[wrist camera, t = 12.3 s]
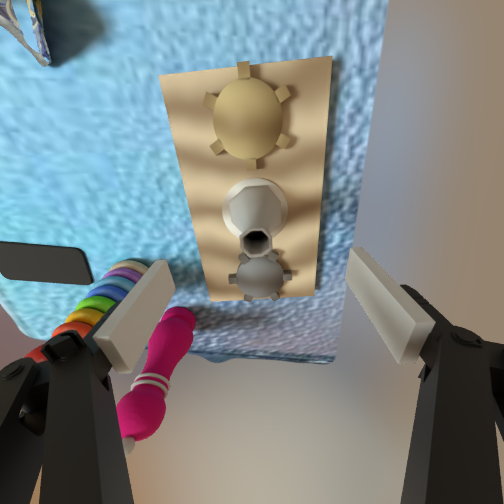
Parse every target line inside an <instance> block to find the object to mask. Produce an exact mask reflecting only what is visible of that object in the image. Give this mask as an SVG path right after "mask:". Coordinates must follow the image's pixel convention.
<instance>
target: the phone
mask: <svg viewBox="0 0 504 504" xmlns="http://www.w3.org/2000/svg"><path fill="white" fill-rule="evenodd" d="M0 272H1V274H2V275H3V276H4V277H5V278H7V279H11V280H22V281H36V282H49V283H63V284H76V285H90V284H91V283H92V282H93V279H92V276H91V273H90V270H89V267H88V264H87V261H86V258H85V255H84V253H83V252H82V251H81V250H80V249H78V248H73V247H62V246H50V245H38V244H27V243H17V242H3V241H0Z"/></svg>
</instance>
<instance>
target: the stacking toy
mask: <svg viewBox="0 0 504 504" xmlns="http://www.w3.org/2000/svg"><path fill="white" fill-rule="evenodd" d="M148 269H149V268H148V267H147V266H145V265H143V264H142V263H139V262H136V261H132V260H125V261H120V262H118V263H116V264H114V265H113V266H112V267H111V268H110V270H109V272H108V273H106V274H105V275H104V277H103V278H102V279H101V280H100V281H99V282H98V283H97V284H96V285H95V287H94V289H93V290H91V291H90V292H89V293H88V295H87V296H86V298H85V299H84V300H82V301H81V302H80V303H79V304H78V305H77V307H76V309H75V311H74V312H72V313H71V314H70V315H69V316H68V317H67V319H66V321H65V323H64V324H62V325H60V326H59V327H57V328H56V329H55V330H54V332H53V334H52V337H54V336H56V335H57V334H59V333H61V332H64V331H67V330H76V331H78V333H79V334H80V336H81V337H82V338H84V337H85V336H86V335H87V333H88V332H89V331H90V330H91V329H92V328H93V327H94V325H95V324H96V323H97V322H98V321H100V318H101V317H102V316H103V315H105V313H106V312H107V310H108V309H109V308H110V307H111V306H112V305H114V304H115V303H116V302H118V301H119V300H123V299H124V298H125V297H126V296H127V295H128V293H129V292H130V291H131V290H132V288H133V287H134V286H135V285H136V284H137V282H138V281H139V280H140V279H141V278H142V276H143V275H144V274H145V273H146V272H147V270H148ZM52 337H51V338H52ZM43 345H44V344H43ZM43 345H41V346H39V347H37V348H35V349H34V350H32V351H31V352H30V353H28V354H27V355H26V356H25V357H31V358H33V359H34V360H35V361H36V362H37V363H39V362H43V361H46V360H47V358H46V357H45V356H44V355H43V354H42V353H41V352H40V350H41V348H42V346H43ZM25 357H24V358H25Z"/></svg>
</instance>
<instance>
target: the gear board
mask: <svg viewBox="0 0 504 504" xmlns="http://www.w3.org/2000/svg"><path fill="white" fill-rule="evenodd" d="M331 69H332V56H326V57H318V58H309V59H300V60H291V61H282V62H273V63H264V64H255V65H249V61H245V62H237V67H229V68H220V69H211V70H202V71H193V72H184V73H176V74H167V75H158V76H159V80H160V84H161V89H162V93H163V97H164V102H165V106H166V110H167V115H168V119H169V123H170V128H171V132H172V136H173V141H174V145H175V149H176V154H177V158H178V162H179V166H180V171H181V175H182V179H183V184H184V188H185V192H186V197H187V201H188V205H189V210H190V214H191V218H192V223H193V227H194V231H195V236H196V240H197V244H198V249H199V253H200V257H201V262H202V266H203V270H204V275H205V279H206V283H207V288H208V292H209V296H210V300H211V302H213V301H230V300H245V301H248V302H251V300H252V299H265V298H272V300H273V301H275V300H277V299H279V298H283V297H300V296H314V291H315V278H316V265H317V252H318V239H319V226H320V213H321V200H322V187H323V174H324V161H325V148H326V135H327V122H328V108H329V95H330V82H331ZM262 185H268V187H269V188H270V189H271V190H272V192H273V193H274V194H275V195H276V196H277V198H278V199H279V200H280V201H281V223H280V224H279V225H278V226H277V227H276V228H275V229H274V230H273V231H272V232H271V233H270V234H271V235H272V245H273V249H272V250H271V251H270V252H268V253H267V254H266V255H264V256H263V257H252V258H249V257H248V256H247V255H246V254H245V253H244V252H243V251H242V250H241V247H240V239H239V236H240V235H241V234H242V232H241V231H240V230H239V229H238V228H237V227H236V226H235V225H234V224H233V223H232V221H231V214H230V206H229V201H230V200H231V199H232V198H233V197H234V196H236V195H237V194H238V193H239V192H240V191H241V190H242V189H243V188H244V187H250V186H262Z"/></svg>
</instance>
